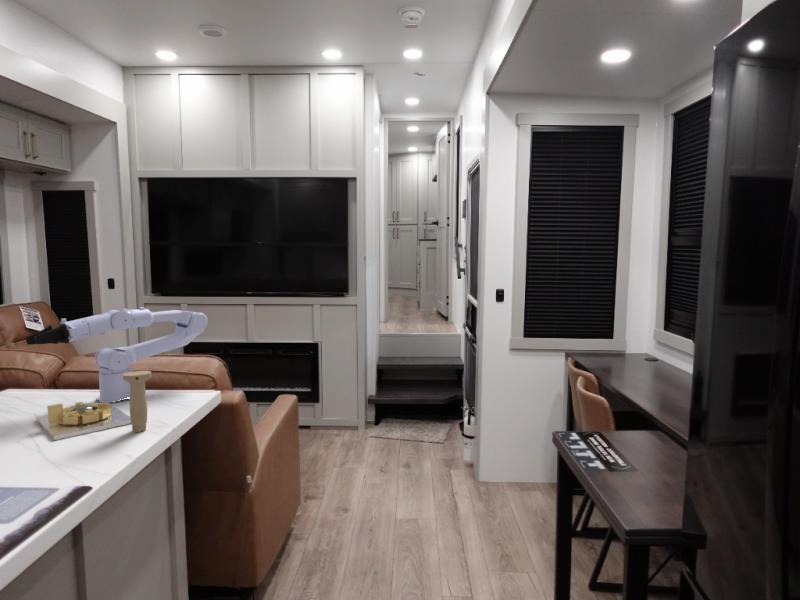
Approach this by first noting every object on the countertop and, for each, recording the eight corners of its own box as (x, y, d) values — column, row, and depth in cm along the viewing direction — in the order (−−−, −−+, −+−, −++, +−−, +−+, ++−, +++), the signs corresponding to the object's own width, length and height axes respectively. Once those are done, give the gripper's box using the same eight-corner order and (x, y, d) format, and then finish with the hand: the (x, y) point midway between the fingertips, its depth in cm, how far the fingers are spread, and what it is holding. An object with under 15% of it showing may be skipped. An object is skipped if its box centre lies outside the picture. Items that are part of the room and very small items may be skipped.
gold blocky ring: (102, 407, 143) (102, 391, 142) (116, 416, 135) (115, 400, 134) (43, 418, 133) (42, 401, 132) (54, 429, 125) (53, 411, 124)
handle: (153, 431, 128) (151, 374, 126) (124, 435, 125) (122, 376, 124) (153, 425, 132) (151, 370, 131) (125, 429, 129) (123, 372, 128)
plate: (110, 406, 148) (109, 393, 148) (134, 422, 134) (133, 408, 134) (36, 420, 135) (35, 406, 135) (54, 440, 121) (53, 424, 121)
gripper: (71, 315, 151) (18, 327, 141) (90, 313, 142) (35, 325, 132) (78, 338, 152) (25, 351, 141) (97, 337, 143) (43, 351, 133)
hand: (31, 340), depth 137 cm, fingers open, 7 cm apart
